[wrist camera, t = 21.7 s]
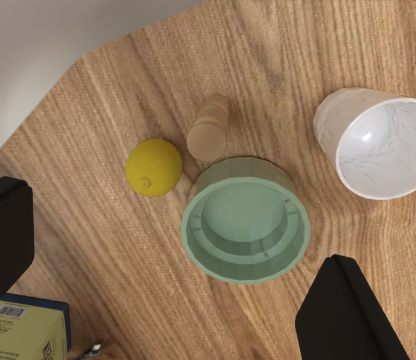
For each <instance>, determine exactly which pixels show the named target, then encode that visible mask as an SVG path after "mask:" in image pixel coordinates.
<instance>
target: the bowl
mask: <svg viewBox="0 0 416 360" xmlns="http://www.w3.org/2000/svg"><path fill="white" fill-rule="evenodd" d="M310 229H311V224H310V221H309V218H308V215H307V212H306V209H305V206H304V204H303V202H302V199H301V197H300V195H299V192H298V190H297V188H296V185H295V183H294V182H293V181H292V180H291V178H290V177H289V176H288V175H287V174H286V172H285V171H284V170H282V169H280V168H279V167H277V166H276V165H274V164H272V163H271V162H268V161H266V160H261V159H257V158H253V157H236V158H229V159H226V160H223V161H221V162H218V163H215V164H213V165H212V166H211V167H209V168H208V169H207V170H205V171H204V172H203V173H202V174H200V175H199V177H198V178H197V180H196V181H195V183H194V184H193V186H192V188H191V189H190V193H189V196H188V200H187V203H186V207H185V210H184V214H183V218H182V223H181V227H180V231H181V237H182V244H183V247H184V248H185V250H186V252H187V254H188V256H189V258H190V259H191V261H192V262H194V263H195V264H196V265H197V266H198V267H199V268H200V269H201V270H202V271H203V272H205V273H206V274H208V275H210V276H212V277H214V278H216V279H218V280H221V281H225V282H230V283H234V284H258V283H262V282H266V281H270V280H274V279H276V278H278V277H279V276H281V275H283V274H285V273H286V272H288V271H290V270H291V269H292V268H293V267H294V266H295V265H296V264H297V263H298V262H299V261H300V260H301V259H302V257H303V255H304V253H305V251H306V249H307V247H308V244H309V242H310Z"/></svg>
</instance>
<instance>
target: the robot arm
mask: <svg viewBox="0 0 416 360" xmlns="http://www.w3.org/2000/svg"><path fill="white" fill-rule="evenodd" d="M34 254H35V252H34V221H33V192H32V188H31V187H29V186H28V184H27V182H26V181H24V180H20V179H16V178H12V177H8V176H4V177H1V178H0V299H1V298H2V296H3V295H4V294H5V293H6V292H7V291H8V290H9V289H10V288H11V286H12V285H13V284H14V283H15V282H16V281H17V280H18V279H19V278H20V277H21V275H22V274H23V273H24V272H25V271H26V270H27V269H28V268H29V266H30V265H31V264H32V262H33V259H34ZM295 328H296V333H297V338H298V342H299V347H300V352H301V356H302V360H410V359H409V357H408V355H407V353H406V351H405V350H404V348H403V346H402V344H401V342H400V340H399V339H398V337H397V335H396V333H395V331H394V330H393V328H392V326H391V324H390V322H389V321H388V319H387V317H386V315H385V313H384V311H383V310H382V308H381V306H380V304H379V302H378V301H377V299H376V297H375V295H374V293H373V292H372V290H371V288H370V286H369V284H368V282H367V281H366V279H365V277H364V275H363V273H362V272H361V270H360V268H359V266H358V264H357V262H356V261H355V260H354V259H353V258H350V257H345V256H341V255H337V254H334V255H332V256H331V258H330V257H327V258H326V259H325V260H324V262H323V264H322V266H321V268H320V270H319V272H318V274H317V276H316V278H315V280H314V282H313V284H312V285H311V287H310V289H309V291H308V293H307V295H306V297H305V299H304V301H303V303H302V305H301V307H300V309H299V311H298V313H297V315H296V319H295Z"/></svg>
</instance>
